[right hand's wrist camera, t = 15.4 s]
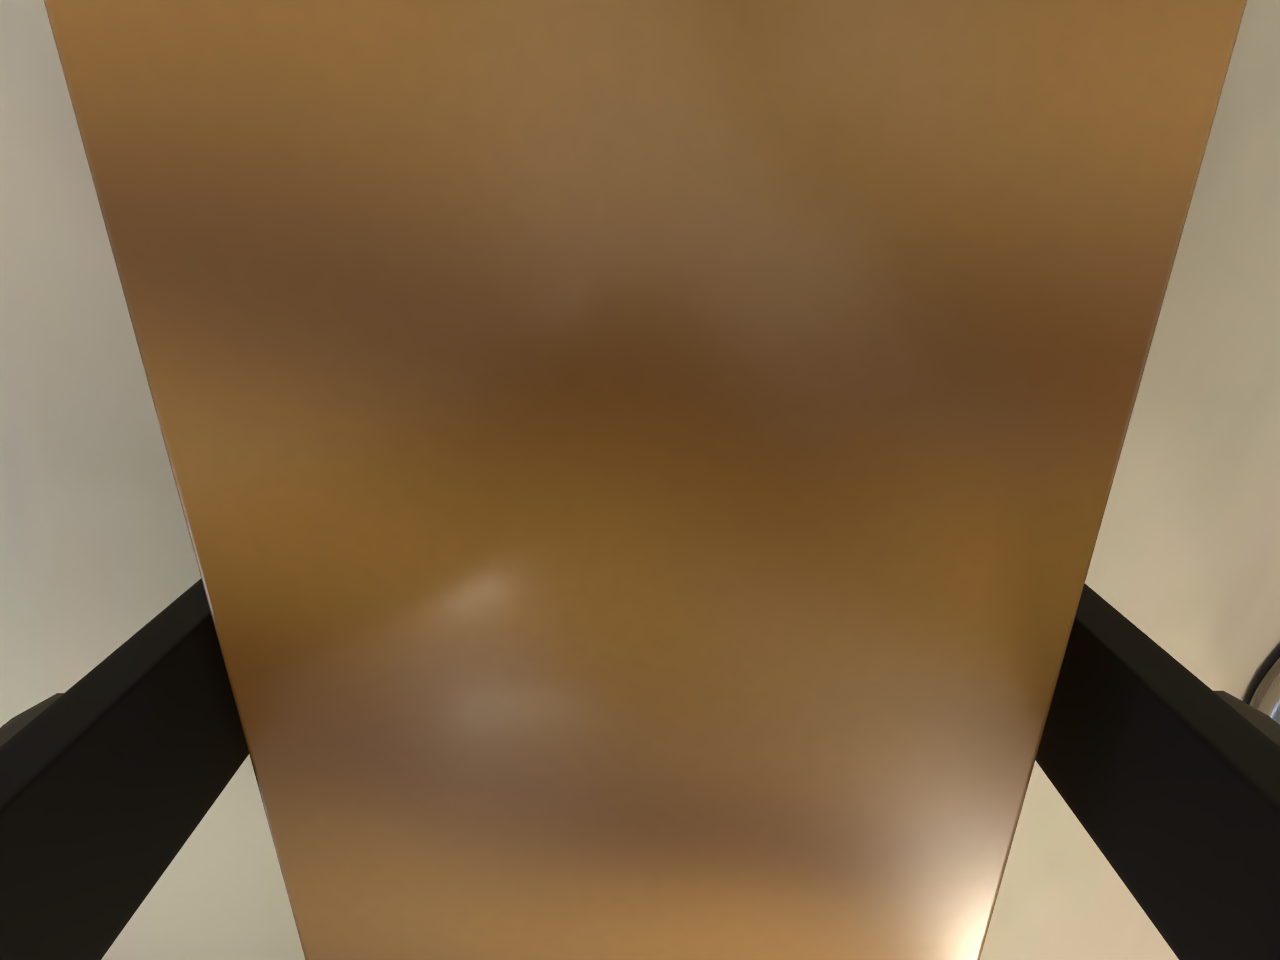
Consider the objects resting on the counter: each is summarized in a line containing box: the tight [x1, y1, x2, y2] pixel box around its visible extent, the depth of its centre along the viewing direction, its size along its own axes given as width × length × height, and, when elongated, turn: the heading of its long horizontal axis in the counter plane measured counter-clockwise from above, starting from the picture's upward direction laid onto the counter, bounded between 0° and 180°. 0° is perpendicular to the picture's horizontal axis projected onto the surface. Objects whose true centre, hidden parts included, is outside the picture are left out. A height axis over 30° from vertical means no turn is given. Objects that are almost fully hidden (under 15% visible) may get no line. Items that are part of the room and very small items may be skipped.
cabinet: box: [44, 0, 1247, 960], centre depth 11 cm, size 20×11×9 cm, turn 0°
